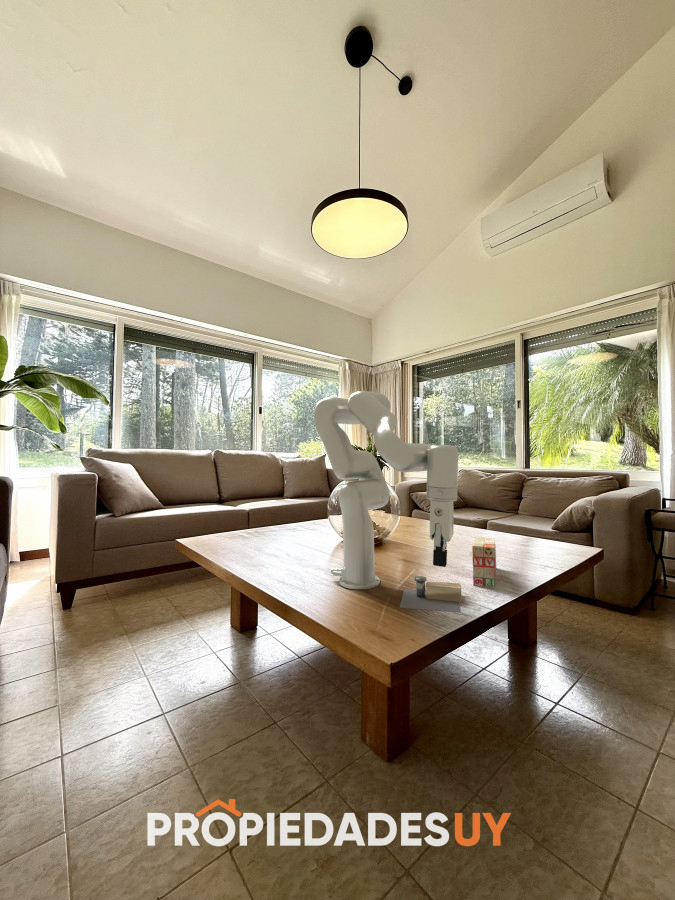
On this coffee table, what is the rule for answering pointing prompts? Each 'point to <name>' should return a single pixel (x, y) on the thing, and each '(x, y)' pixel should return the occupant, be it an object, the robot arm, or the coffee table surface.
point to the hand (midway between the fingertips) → (439, 565)
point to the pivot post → (420, 586)
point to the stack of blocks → (484, 562)
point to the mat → (427, 602)
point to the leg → (443, 591)
